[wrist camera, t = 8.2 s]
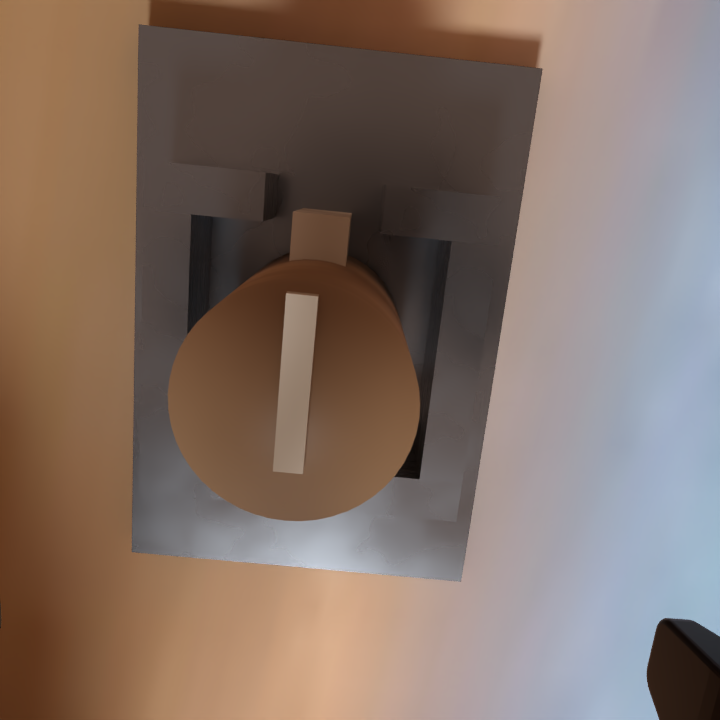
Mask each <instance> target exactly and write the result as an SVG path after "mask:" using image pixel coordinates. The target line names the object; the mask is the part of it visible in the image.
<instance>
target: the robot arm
mask: <svg viewBox="0 0 720 720" xmlns="http://www.w3.org/2000/svg"><path fill="white" fill-rule="evenodd" d="M0 628H1V605H0ZM647 682H648V687H649V691H650V694H651V697H652V699H653V702H654V705H655V708H656V711H657V714H658V717H659V720H720V637H719V636H718V635H716V634H715V633H713V632H711V631H710V630H708V629H706V628H705V627H703V626H701V625H700V624H698V623H696V622H695V621H692V620H685V619H671V618H664V619H663V620H661V621H660V622H659V624H658V625H657V628H656V632H655V636H654V641H653V645H652V649H651V653H650V658H649V662H648V666H647Z"/></svg>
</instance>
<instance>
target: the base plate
mask: <svg viewBox="0 0 720 720" xmlns="http://www.w3.org/2000/svg"><path fill="white" fill-rule="evenodd" d="M541 75H542V69H541V68H532V67H523V66H514V65H505V64H495V63H486V62H477V61H468V60H459V59H450V58H441V57H431V56H422V55H413V54H404V53H395V52H386V51H376V50H367V49H358V48H349V47H340V46H331V45H322V44H312V43H303V42H294V41H285V40H276V39H267V38H258V37H248V36H239V35H230V34H221V33H212V32H203V31H194V30H184V29H175V28H166V27H157V26H148V25H139V46H138V122H137V198H136V275H135V351H134V428H133V504H132V552H137V553H148V554H159V555H171V556H182V557H193V558H204V559H215V560H226V561H237V562H248V563H260V564H271V565H282V566H293V567H304V568H315V569H326V570H337V571H349V572H360V573H371V574H382V575H393V576H404V577H415V578H426V579H438V580H449V581H460V582H461V578H462V572H463V565H464V559H465V553H466V547H467V540H468V534H469V528H470V521H471V515H472V509H473V503H474V496H475V490H476V484H477V477H478V471H479V465H480V459H481V452H482V446H483V440H484V434H485V427H486V421H487V415H488V408H489V402H490V396H491V390H492V383H493V377H494V371H495V364H496V358H497V352H498V346H499V339H500V333H501V327H502V320H503V314H504V308H505V302H506V295H507V289H508V283H509V276H510V270H511V264H512V258H513V251H514V245H515V239H516V232H517V226H518V220H519V214H520V207H521V201H522V195H523V188H524V182H525V176H526V170H527V163H528V157H529V151H530V144H531V138H532V132H533V126H534V119H535V113H536V107H537V100H538V94H539V88H540V82H541ZM302 208H308V209H317V210H327V211H336V212H346V213H352V217H351V227H350V238H349V248H348V255H349V256H351V257H353V258H356V259H357V260H359V261H360V262H362V263H364V264H365V265H367V266H368V267H369V268H370V269H371V270H373V271H374V272H375V273H376V274H377V275H378V277H379V278H380V279H381V280H382V281H383V283H384V284H385V285H386V287H387V288H388V290H389V292H390V294H391V296H392V298H393V300H394V303H395V306H396V308H397V312H398V315H399V318H400V322H401V325H402V328H403V332H404V335H405V339H406V342H407V345H408V349H409V352H410V355H411V359H412V362H413V366H414V369H415V372H416V377H417V381H418V386H419V395H420V414H419V423H418V428H417V433H416V436H415V439H414V442H413V445H412V448H411V450H410V452H409V454H408V456H407V458H406V460H405V462H404V464H403V465H402V466H401V468H400V469H399V471H398V472H397V474H396V475H395V476H394V477H393V478H392V480H391V481H390V482H389V483H388V484H387V485H386V486H385V487H384V488H383V489H382V490H380V491H379V492H378V493H377V494H376V495H375V496H373V497H372V498H370V499H369V500H367V501H366V502H364V503H363V504H361V505H359V506H357V507H355V508H353V509H351V510H349V511H347V512H344V513H341V514H338V515H335V516H332V517H328V518H323V519H318V520H309V521H284V520H277V519H270V518H266V517H263V516H259V515H255V514H253V513H250V512H248V511H245V510H243V509H240V508H238V507H237V506H235V505H233V504H231V503H229V502H227V501H226V500H224V499H223V498H222V497H220V496H219V495H217V494H216V493H215V492H213V491H212V490H211V489H210V488H209V487H208V486H207V485H206V484H205V483H203V482H202V481H201V480H200V478H199V477H198V476H197V475H196V474H195V472H194V471H193V470H192V469H191V467H190V466H189V464H188V463H187V461H186V460H185V458H184V456H183V455H182V453H181V451H180V448H179V446H178V444H177V442H176V440H175V436H174V433H173V430H172V427H171V422H170V417H169V411H168V388H169V379H170V375H171V371H172V366H173V363H174V360H175V358H176V355H177V353H178V350H179V348H180V347H181V345H182V343H183V341H184V340H185V338H186V336H187V335H188V333H189V332H190V331H191V329H192V328H193V327H194V326H195V324H196V323H197V322H198V321H199V320H200V319H201V318H202V317H203V316H204V315H205V314H206V313H207V312H208V311H209V310H211V309H212V308H213V307H214V306H216V305H217V304H218V303H219V302H221V301H222V300H223V299H224V298H225V297H227V296H228V295H229V294H230V293H232V292H233V291H234V290H235V289H237V288H238V287H239V286H240V285H242V284H243V283H244V282H245V281H247V280H248V279H249V278H250V277H252V276H253V275H254V274H255V273H256V272H258V271H259V270H260V269H261V268H263V267H264V266H265V265H267V264H268V263H270V262H271V261H273V260H274V259H276V258H278V257H280V256H282V255H285V254H288V253H290V245H291V232H292V218H293V211H296V210H299V209H302Z"/></svg>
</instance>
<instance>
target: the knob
mask: <svg viewBox="0 0 720 720" xmlns="http://www.w3.org/2000/svg"><path fill="white" fill-rule="evenodd" d="M351 217H352V213H346V212H336V211H327V210H317V209H308V208H302V209H299V210H296V211H293V218H292V232H291V245H290V253H288V254H285V255H282V256H280V257H278V258H276V259H274V260H273V261H271V262H270V263H268V264H267V265H265V266H264V267H263V268H261V269H260V270H259V271H258V272H256V273H255V274H254V275H253V276H252V277H250V278H249V279H248V280H247V281H245V282H244V283H243V284H242V285H240V286H239V287H238V288H237V289H235V290H234V291H233V292H232V293H230V294H229V295H228V296H227V297H225V298H224V299H223V300H222V301H221V302H219V303H218V304H217V305H216V306H214V307H213V308H212V309H211V310H209V311H208V312H207V313H206V314H205V315H204V316H203V317H202V318H201V319H200V320H199V321H198V322H197V323H196V324H195V326H194V327H193V328H192V329H191V331H190V332H189V333H188V335H187V336H186V338H185V340H184V341H183V343H182V345H181V347H180V348H179V350H178V353H177V355H176V358H175V360H174V363H173V366H172V371H171V375H170V379H169V388H168V411H169V417H170V422H171V427H172V430H173V433H174V436H175V440H176V442H177V444H178V446H179V448H180V451H181V453H182V455H183V456H184V458H185V460H186V461H187V463H188V464H189V466H190V467H191V469H192V470H193V471H194V472H195V474H196V475H197V476H198V477H199V478H200V480H201V481H202V482H203V483H205V484H206V485H207V486H208V487H209V488H210V489H211V490H212V491H213V492H215V493H216V494H217V495H219V496H220V497H222V498H223V499H224V500H226V501H227V502H229V503H231V504H233V505H235V506H237V507H238V508H240V509H243V510H245V511H248V512H250V513H253V514H255V515H259V516H263V517H266V518H270V519H277V520H284V521H309V520H318V519H323V518H328V517H332V516H335V515H338V514H341V513H344V512H347V511H349V510H351V509H353V508H355V507H357V506H359V505H361V504H363V503H364V502H366V501H367V500H369V499H370V498H372V497H373V496H375V495H376V494H377V493H378V492H379V491H380V490H382V489H383V488H384V487H385V486H386V485H387V484H388V483H389V482H390V481H391V480H392V478H393V477H394V476H395V475H396V474H397V472H398V471H399V469H400V468H401V466H402V465H403V464H404V462H405V460H406V458H407V456H408V454H409V452H410V450H411V448H412V445H413V442H414V439H415V436H416V433H417V428H418V423H419V414H420V395H419V386H418V381H417V377H416V372H415V369H414V366H413V362H412V359H411V355H410V352H409V349H408V345H407V342H406V339H405V335H404V332H403V328H402V325H401V322H400V318H399V315H398V312H397V308H396V306H395V303H394V300H393V298H392V296H391V294H390V292H389V290H388V288H387V287H386V285H385V284H384V283H383V281H382V280H381V279H380V278H379V277H378V275H377V274H376V273H375V272H374V271H373V270H371V269H370V268H369V267H368V266H367V265H365V264H364V263H362V262H360V261H359V260H357V259H356V258H353V257H351V256H349V255H348V248H349V238H350V227H351Z"/></svg>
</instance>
